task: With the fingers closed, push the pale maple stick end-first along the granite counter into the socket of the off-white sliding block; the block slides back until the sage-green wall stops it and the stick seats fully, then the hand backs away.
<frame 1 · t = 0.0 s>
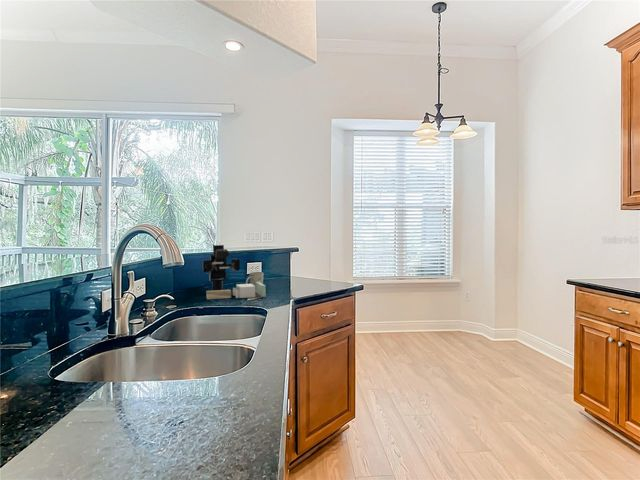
hand: (223, 266, 188), 17 cm above the worktop, tool horizontal, fingers open, 9 cm apart
block: (243, 290, 197), point 3 cm above the worktop, slide at 0.0 cm
mug: (254, 290, 215), on the worktop
dowel: (218, 298, 192), on the worktop
wall: (260, 294, 201), on the worktop
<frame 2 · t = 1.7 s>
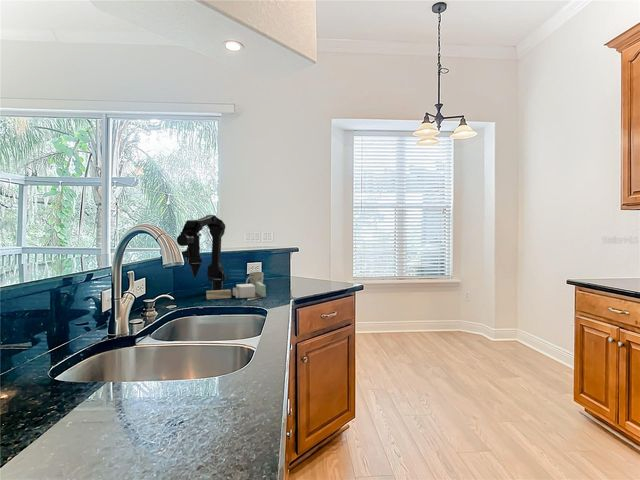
hand: (194, 276, 187), 12 cm above the worktop, tool pointing down, fingers open, 6 cm apart
nothing on the worktop moved.
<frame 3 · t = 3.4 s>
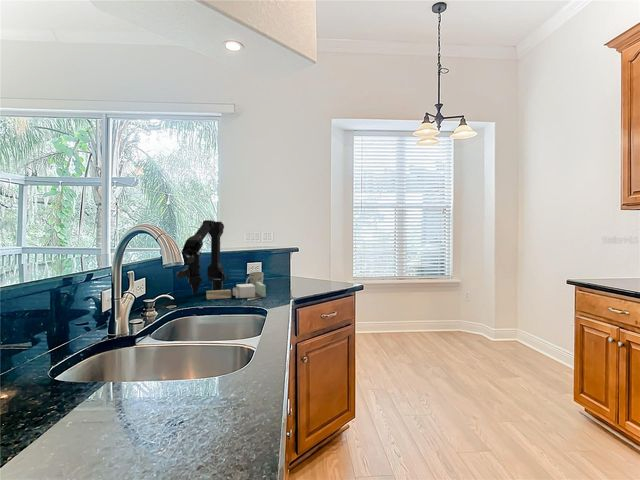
hand: (194, 294, 188), 3 cm above the worktop, tool pointing down, fingers closed
nothing on the worktop moved.
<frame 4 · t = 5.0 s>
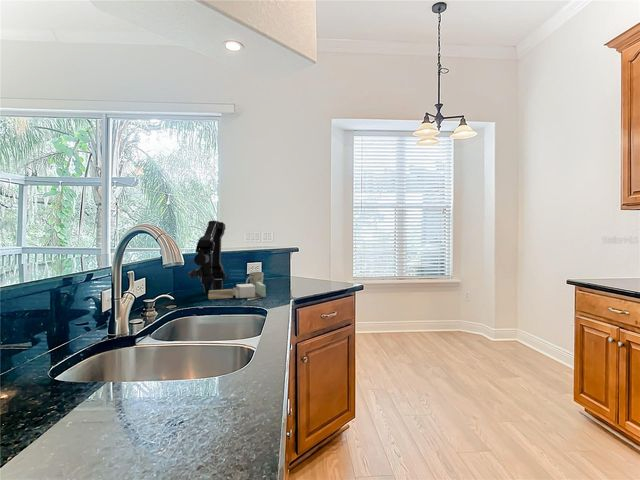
hand: (206, 294, 190), 3 cm above the worktop, tool pointing down, fingers closed, pressing on dowel
dowel: (220, 297, 193), on the worktop, touching gripper
everything else where it was.
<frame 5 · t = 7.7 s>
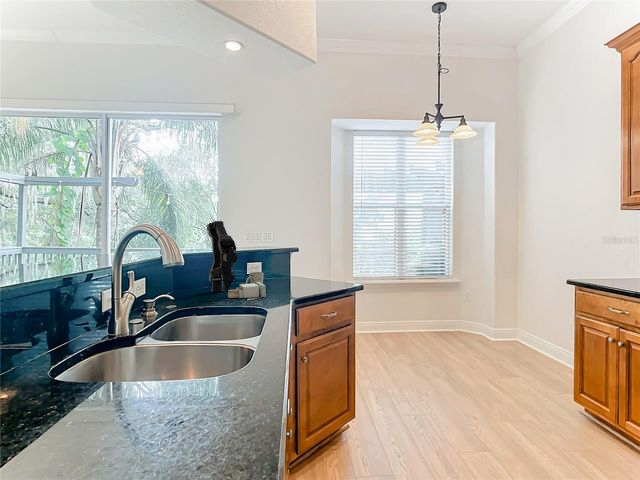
hand: (226, 292, 194), 3 cm above the worktop, tool pointing down, fingers closed
block: (247, 290, 198), point 3 cm above the worktop, slide at 1.8 cm
dowel: (239, 297, 196), on the worktop
everything else where it was.
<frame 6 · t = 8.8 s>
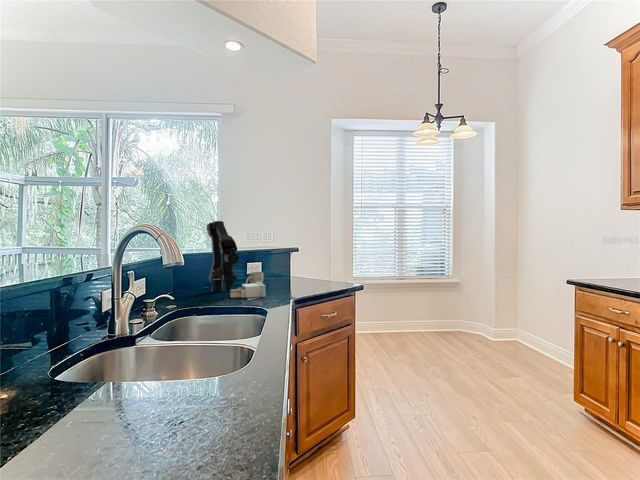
hand: (227, 292, 194), 2 cm above the worktop, tool pointing down, fingers closed
block: (249, 290, 198), point 3 cm above the worktop, slide at 3.0 cm, touching wall
dowel: (242, 296, 196), on the worktop
everything else where it was.
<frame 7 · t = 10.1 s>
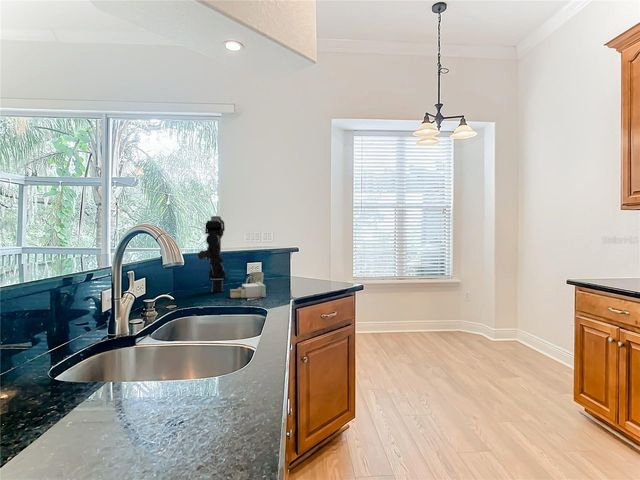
hand: (214, 275, 191), 12 cm above the worktop, tool pointing down, fingers closed
nothing on the worktop moved.
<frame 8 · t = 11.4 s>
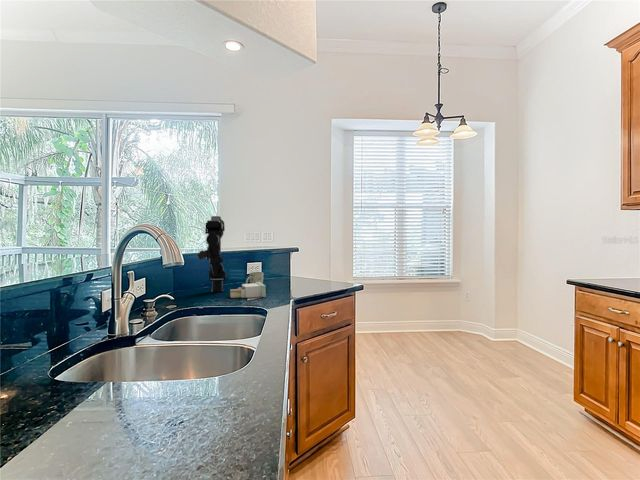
hand: (214, 275, 191), 12 cm above the worktop, tool pointing down, fingers closed
nothing on the worktop moved.
at the end: block slide at 3.0 cm; dowel 1.2 cm from the target spot on the block, point 0.0 cm above the block's base; dowel on the worktop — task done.
